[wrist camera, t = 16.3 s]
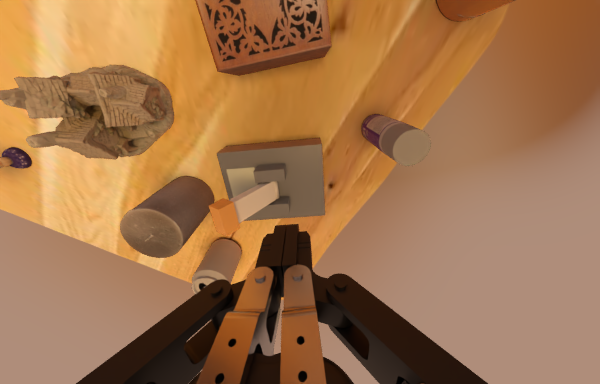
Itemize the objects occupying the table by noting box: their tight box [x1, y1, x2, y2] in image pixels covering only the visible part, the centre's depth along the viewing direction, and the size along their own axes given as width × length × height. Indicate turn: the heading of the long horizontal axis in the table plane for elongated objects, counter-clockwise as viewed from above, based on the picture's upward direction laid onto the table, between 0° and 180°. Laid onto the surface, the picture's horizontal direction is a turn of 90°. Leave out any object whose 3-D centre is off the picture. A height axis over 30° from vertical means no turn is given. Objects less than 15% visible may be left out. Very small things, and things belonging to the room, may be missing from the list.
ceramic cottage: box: [0, 65, 174, 159], centre depth 32 cm, size 16×16×15 cm
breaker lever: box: [209, 181, 279, 236], centre depth 34 cm, size 4×2×12 cm
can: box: [192, 239, 242, 294], centre depth 47 cm, size 8×8×12 cm
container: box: [361, 114, 431, 166], centre depth 32 cm, size 5×5×15 cm
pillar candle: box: [120, 176, 214, 258], centre depth 39 cm, size 10×10×15 cm
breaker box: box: [217, 138, 325, 221], centre depth 40 cm, size 14×18×8 cm
